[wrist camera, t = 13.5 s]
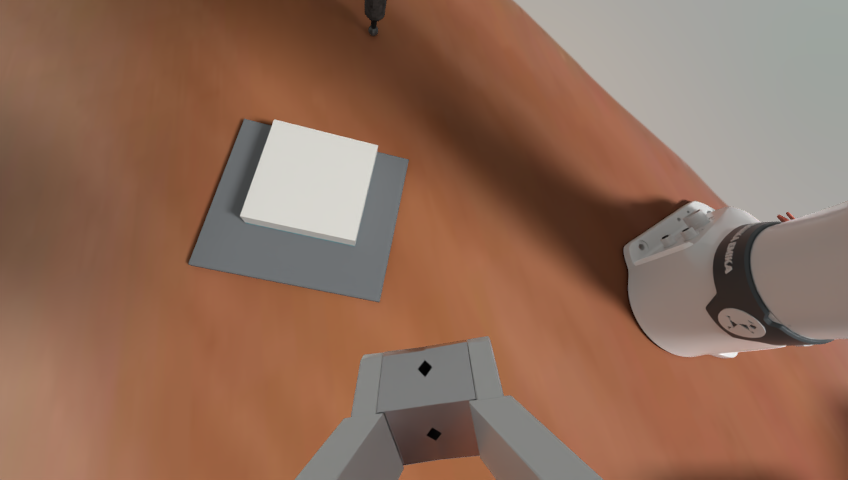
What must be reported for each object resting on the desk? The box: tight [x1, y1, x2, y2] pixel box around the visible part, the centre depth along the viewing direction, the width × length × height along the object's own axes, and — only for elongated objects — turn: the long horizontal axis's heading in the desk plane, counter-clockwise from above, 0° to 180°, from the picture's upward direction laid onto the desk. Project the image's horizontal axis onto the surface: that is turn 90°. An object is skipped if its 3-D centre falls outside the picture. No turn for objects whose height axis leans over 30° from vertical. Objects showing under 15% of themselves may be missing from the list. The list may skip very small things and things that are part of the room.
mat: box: [189, 119, 409, 302], centre depth 42 cm, size 18×20×1 cm
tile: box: [240, 120, 378, 247], centre depth 42 cm, size 2×12×12 cm
